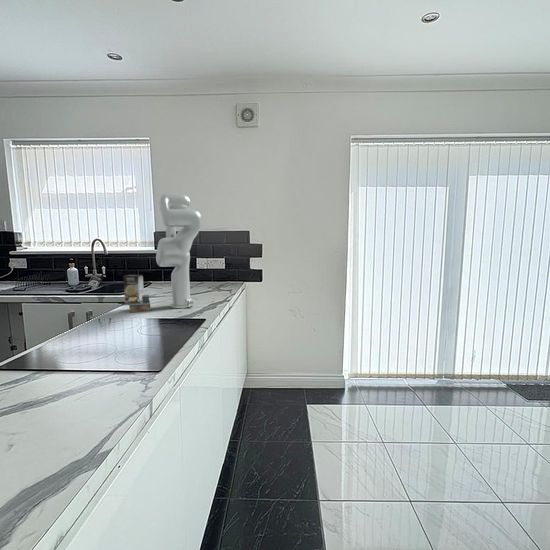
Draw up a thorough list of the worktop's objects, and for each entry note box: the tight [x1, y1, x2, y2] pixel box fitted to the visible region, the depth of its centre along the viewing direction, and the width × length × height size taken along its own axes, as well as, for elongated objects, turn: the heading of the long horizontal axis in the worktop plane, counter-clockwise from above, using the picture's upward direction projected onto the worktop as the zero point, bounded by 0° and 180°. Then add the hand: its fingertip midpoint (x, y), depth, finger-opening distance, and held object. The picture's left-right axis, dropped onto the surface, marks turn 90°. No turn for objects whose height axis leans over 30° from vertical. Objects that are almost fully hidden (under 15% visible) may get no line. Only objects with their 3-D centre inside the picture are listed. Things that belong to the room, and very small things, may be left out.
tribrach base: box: [128, 304, 152, 313], centre depth 182 cm, size 10×8×3 cm
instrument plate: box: [128, 294, 151, 306], centre depth 181 cm, size 10×8×4 cm
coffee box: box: [122, 274, 145, 305], centre depth 199 cm, size 9×6×16 cm
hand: (172, 254), depth 205 cm, fingers closed
